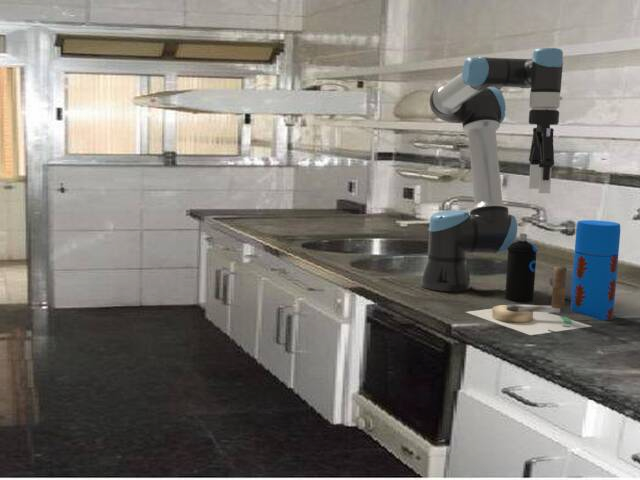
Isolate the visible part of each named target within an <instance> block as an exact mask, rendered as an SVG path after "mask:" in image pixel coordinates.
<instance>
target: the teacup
mask: <svg viewBox="0 0 640 480" xmlns="http://www.w3.org/2000/svg"><path fill="white" fill-rule="evenodd" d="M553 276H554V273H553V274H552V275H551V276H550V278H549V284H550V286H551V287H552V288H553ZM572 281H573V268H567V271H566V284H565V298H564V300H567V301H571V295H572Z"/></svg>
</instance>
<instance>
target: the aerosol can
mask: <svg viewBox="0 0 640 480" xmlns="http://www.w3.org/2000/svg"><path fill="white" fill-rule="evenodd" d="M527 237H528V234H527V233H523V232H522V233H519V239H518V240H517V241H515V242H514V243H512V244H511V245H510V246H509V247H508V248H507V249H508V251H507V263H506V264H507V265H506V276H505V277H506V278H505V279H506V281H505V296H504V299H505V300H507V301H510V302H515V303H531V302H533V301H534V296H535V295H534V294H535V281H536V264H537V252H538V248H536V246H535V245H534V244H532V243H531V242H529V241H527Z"/></svg>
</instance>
